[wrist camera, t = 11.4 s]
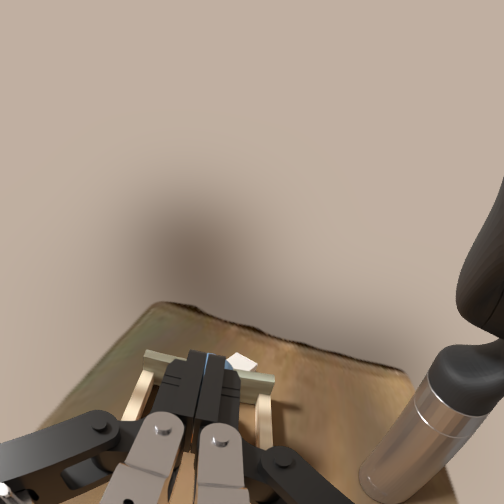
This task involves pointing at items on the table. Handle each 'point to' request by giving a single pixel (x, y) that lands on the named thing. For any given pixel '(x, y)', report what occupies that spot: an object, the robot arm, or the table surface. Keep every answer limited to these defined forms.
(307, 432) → the table surface
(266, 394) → the cradle
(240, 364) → the fin block
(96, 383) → the table surface
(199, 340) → the table surface
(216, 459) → the robot arm
